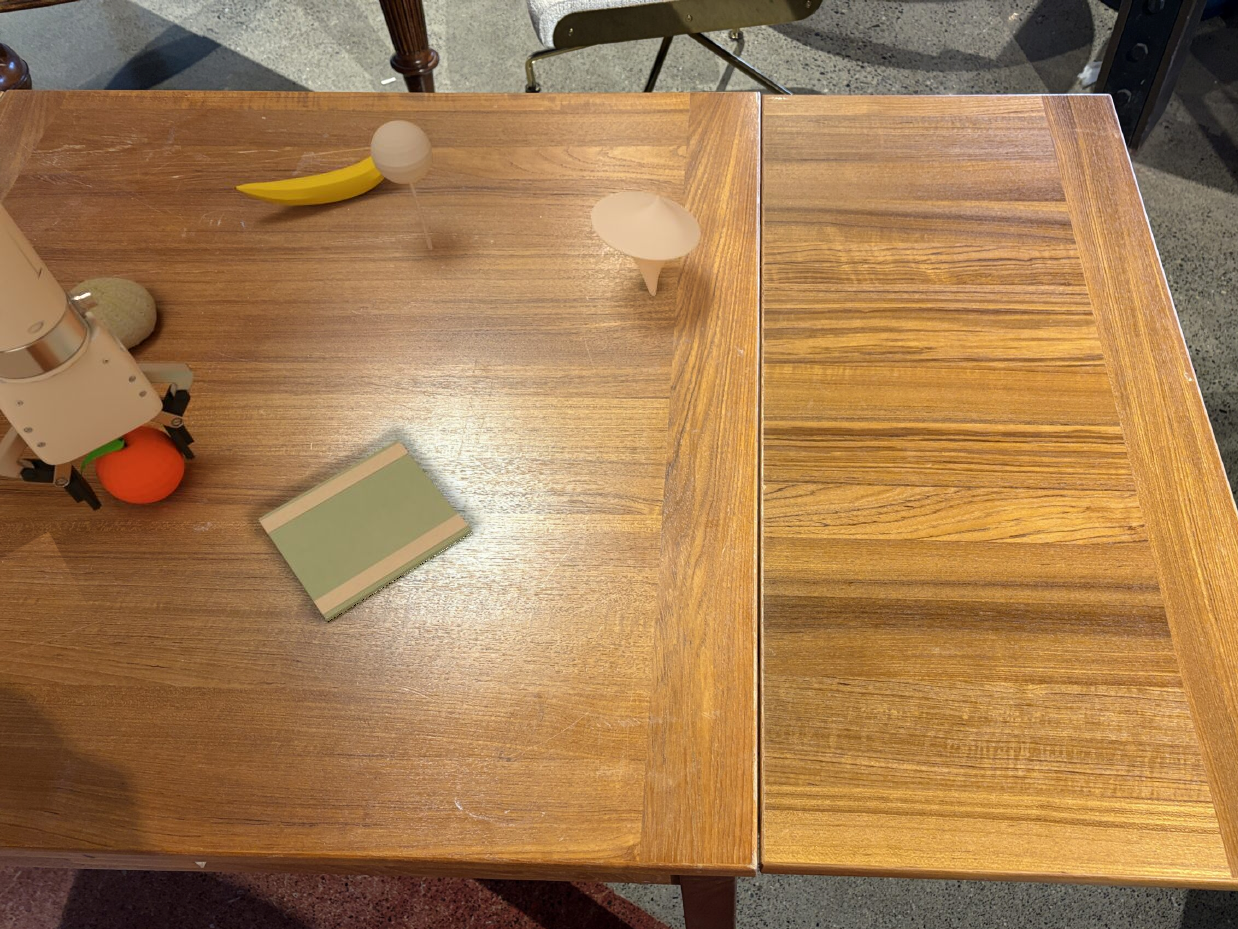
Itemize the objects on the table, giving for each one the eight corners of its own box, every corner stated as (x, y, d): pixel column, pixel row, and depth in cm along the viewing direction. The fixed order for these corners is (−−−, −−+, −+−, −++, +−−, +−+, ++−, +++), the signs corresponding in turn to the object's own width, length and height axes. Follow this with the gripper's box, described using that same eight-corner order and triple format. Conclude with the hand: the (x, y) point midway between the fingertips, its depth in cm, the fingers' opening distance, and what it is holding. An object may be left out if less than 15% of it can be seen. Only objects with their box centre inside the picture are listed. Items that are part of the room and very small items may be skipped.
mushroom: (677, 249, 108) (673, 152, 98) (718, 314, 103) (718, 219, 93) (586, 277, 106) (572, 181, 96) (623, 345, 101) (612, 251, 91)
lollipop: (397, 238, 110) (356, 116, 98) (449, 224, 111) (415, 100, 99) (411, 274, 107) (370, 152, 94) (465, 259, 108) (432, 136, 96)
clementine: (115, 536, 89) (72, 489, 83) (99, 481, 92) (57, 432, 86) (206, 498, 91) (170, 449, 85) (187, 446, 94) (151, 396, 88)
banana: (250, 216, 113) (226, 168, 107) (415, 168, 117) (400, 120, 112) (255, 232, 111) (232, 184, 106) (422, 183, 115) (407, 134, 110)
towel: (328, 622, 84) (325, 618, 83) (260, 522, 89) (257, 518, 89) (472, 533, 88) (470, 528, 88) (399, 443, 94) (397, 438, 94)
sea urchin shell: (85, 369, 97) (30, 295, 95) (92, 376, 104) (41, 308, 102) (174, 323, 101) (122, 250, 98) (175, 333, 108) (126, 265, 105)
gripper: (123, 255, 80) (215, 401, 94) (-109, 359, 74) (27, 498, 88) (160, 307, 76) (249, 450, 91) (-79, 421, 70) (57, 554, 85)
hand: (139, 473), depth 90 cm, fingers closed on clementine, 8 cm apart
